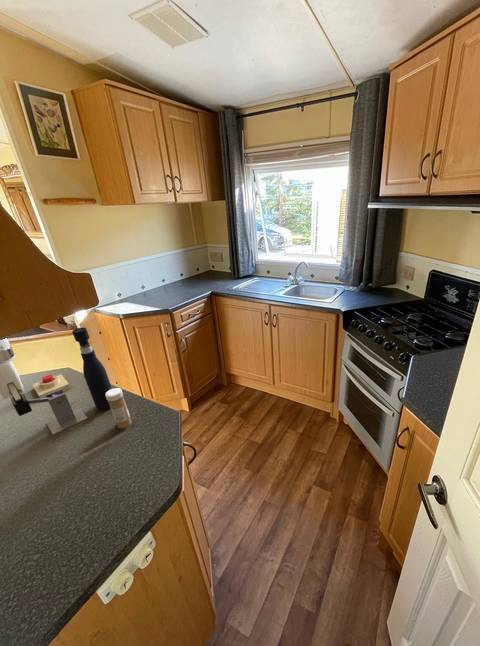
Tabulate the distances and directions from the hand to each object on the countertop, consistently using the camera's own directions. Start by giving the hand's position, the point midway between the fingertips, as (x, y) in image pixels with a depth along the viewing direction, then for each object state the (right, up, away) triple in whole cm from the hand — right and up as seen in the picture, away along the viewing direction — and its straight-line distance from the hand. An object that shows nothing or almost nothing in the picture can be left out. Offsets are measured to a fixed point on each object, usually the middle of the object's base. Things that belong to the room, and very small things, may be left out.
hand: (24, 409), depth 86 cm
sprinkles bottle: (+26, -7, +7) cm, 28 cm away
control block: (-14, +2, +30) cm, 33 cm away
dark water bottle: (+15, -3, +17) cm, 23 cm away
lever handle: (+2, +1, +2) cm, 3 cm away
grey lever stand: (+6, -7, +10) cm, 14 cm away
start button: (-14, +5, +28) cm, 32 cm away
